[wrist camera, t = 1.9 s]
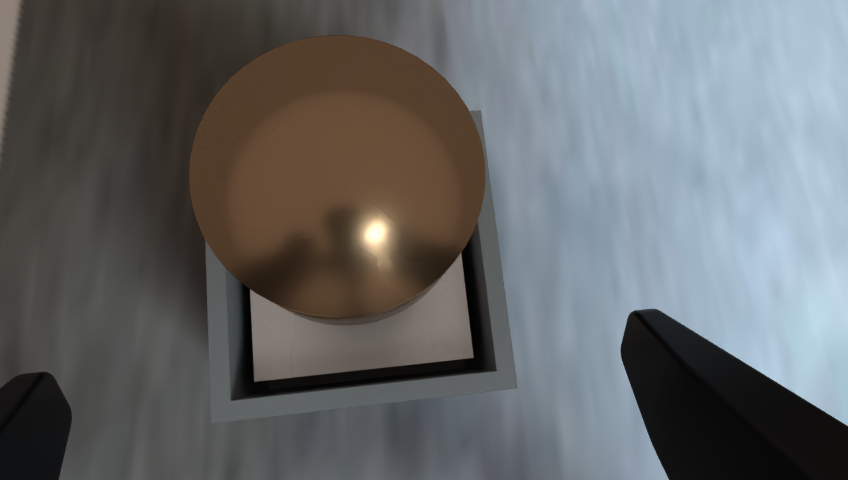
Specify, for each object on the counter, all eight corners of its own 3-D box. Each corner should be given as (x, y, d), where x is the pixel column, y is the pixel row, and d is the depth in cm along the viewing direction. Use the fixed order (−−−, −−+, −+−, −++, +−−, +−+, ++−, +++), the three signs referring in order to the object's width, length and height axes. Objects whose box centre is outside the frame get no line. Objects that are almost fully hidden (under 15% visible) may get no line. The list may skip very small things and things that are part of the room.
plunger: (470, 357, 17) (571, 355, 8) (258, 381, 17) (126, 405, 8) (446, 160, 18) (514, -24, 10) (248, 175, 18) (124, -8, 9)
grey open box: (478, 380, 21) (517, 388, 16) (257, 405, 21) (211, 423, 15) (449, 145, 23) (475, 73, 17) (245, 159, 22) (200, 88, 16)
